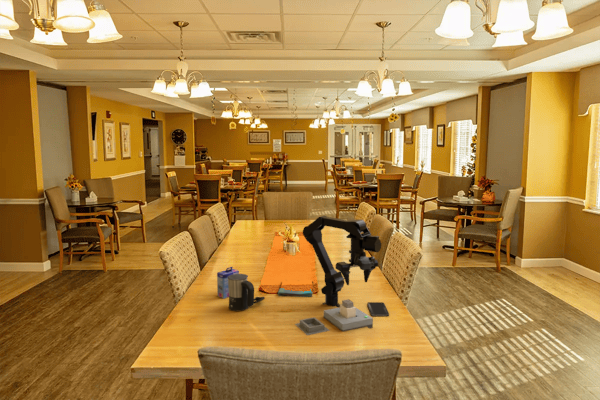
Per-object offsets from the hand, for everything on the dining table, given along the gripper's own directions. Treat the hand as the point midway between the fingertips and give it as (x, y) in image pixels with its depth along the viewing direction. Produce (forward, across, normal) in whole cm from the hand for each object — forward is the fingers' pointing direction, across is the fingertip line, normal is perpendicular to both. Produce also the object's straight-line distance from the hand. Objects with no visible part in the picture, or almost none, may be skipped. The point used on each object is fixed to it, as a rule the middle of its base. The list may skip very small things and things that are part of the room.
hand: (356, 283), depth 198 cm
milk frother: (+13, -41, +28) cm, 52 cm away
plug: (+12, -10, -9) cm, 18 cm away
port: (+13, -10, -9) cm, 19 cm away
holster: (+13, -26, -8) cm, 30 cm away
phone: (+14, +10, -2) cm, 17 cm away
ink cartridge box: (+13, -45, +46) cm, 66 cm away
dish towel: (+14, -11, +40) cm, 44 cm away
